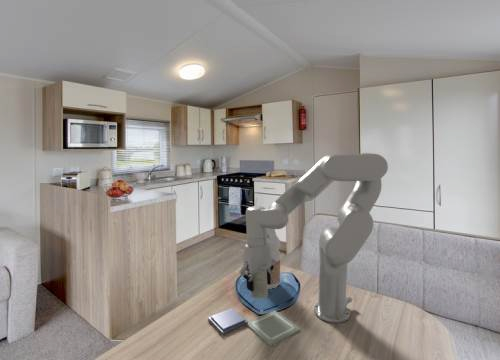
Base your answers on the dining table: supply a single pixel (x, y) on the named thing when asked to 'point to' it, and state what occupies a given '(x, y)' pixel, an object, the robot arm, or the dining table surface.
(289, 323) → the marked board
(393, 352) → the dining table surface
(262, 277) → the skincare box
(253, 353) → the dining table surface
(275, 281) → the fruit juice
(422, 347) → the dining table surface
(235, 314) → the ink pad
